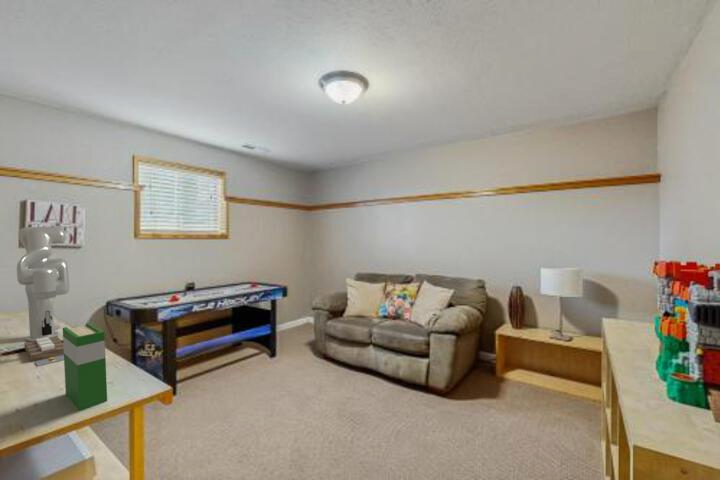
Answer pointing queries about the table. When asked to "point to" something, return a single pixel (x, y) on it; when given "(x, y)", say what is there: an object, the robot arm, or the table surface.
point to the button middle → (44, 343)
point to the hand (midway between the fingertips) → (47, 334)
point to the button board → (37, 354)
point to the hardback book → (85, 365)
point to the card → (49, 360)
